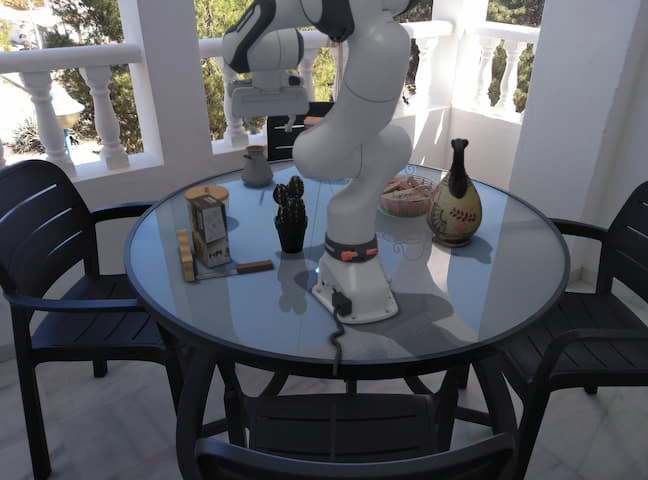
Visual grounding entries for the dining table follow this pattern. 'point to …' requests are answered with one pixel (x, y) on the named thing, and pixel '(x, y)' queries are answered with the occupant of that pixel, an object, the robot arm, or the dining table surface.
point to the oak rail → (186, 254)
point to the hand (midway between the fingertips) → (271, 132)
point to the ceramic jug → (455, 203)
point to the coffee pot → (256, 167)
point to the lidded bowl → (213, 190)
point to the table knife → (240, 269)
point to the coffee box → (209, 230)
